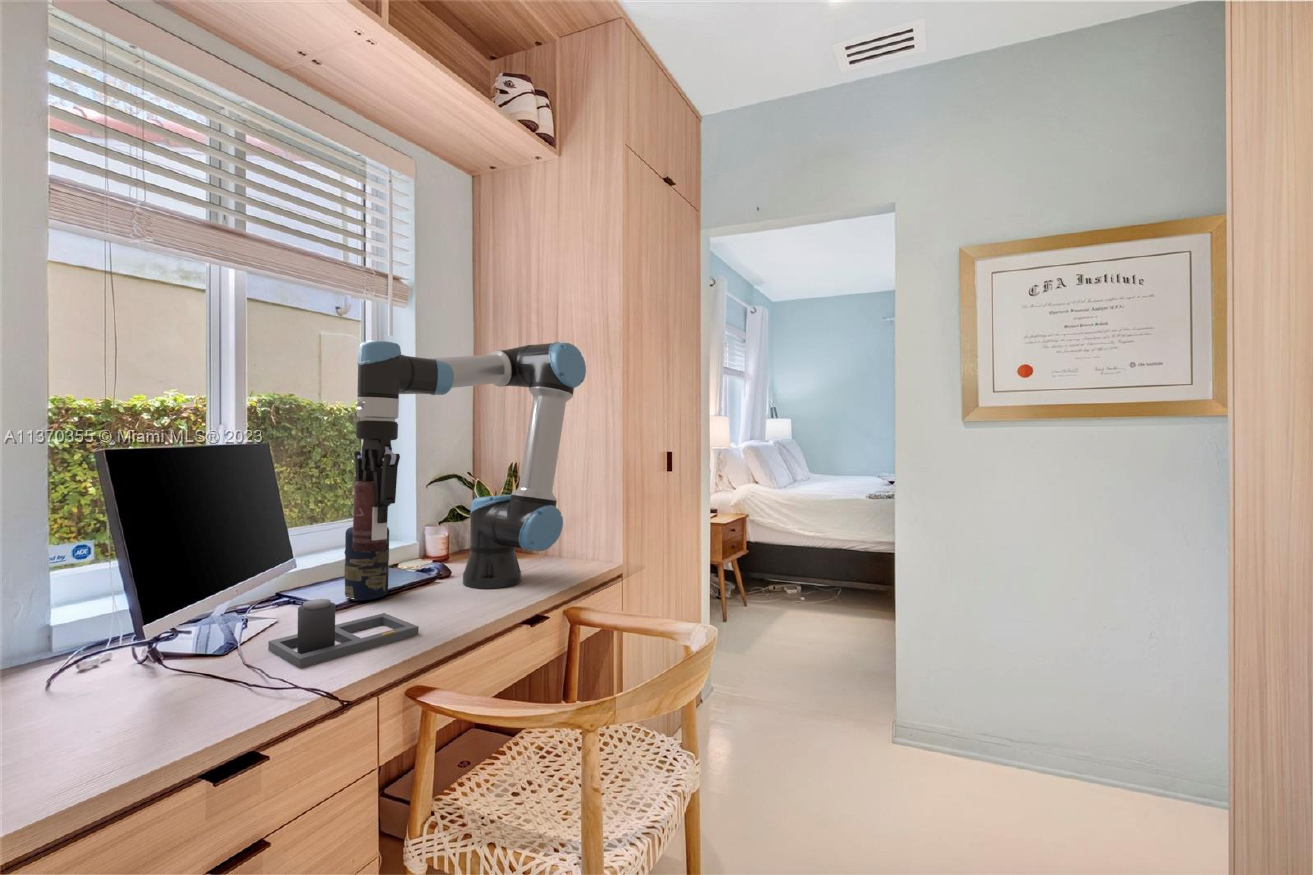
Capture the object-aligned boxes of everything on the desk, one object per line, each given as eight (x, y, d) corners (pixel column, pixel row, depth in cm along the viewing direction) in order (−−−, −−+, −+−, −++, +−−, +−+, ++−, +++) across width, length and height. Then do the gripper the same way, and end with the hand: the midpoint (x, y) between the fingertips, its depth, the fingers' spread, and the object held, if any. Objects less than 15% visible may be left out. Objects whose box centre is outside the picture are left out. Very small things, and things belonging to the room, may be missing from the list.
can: (374, 554, 116) (376, 481, 116) (345, 551, 117) (347, 480, 117) (393, 548, 122) (395, 479, 122) (365, 546, 123) (367, 478, 123)
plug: (325, 641, 115) (326, 595, 114) (340, 649, 111) (341, 601, 111) (291, 650, 110) (292, 602, 110) (306, 658, 106) (306, 609, 106)
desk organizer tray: (384, 620, 127) (384, 612, 127) (418, 634, 120) (418, 625, 120) (268, 649, 110) (268, 639, 110) (299, 668, 102) (299, 657, 102)
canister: (359, 605, 137) (360, 527, 137) (335, 598, 142) (336, 522, 142) (396, 596, 145) (398, 522, 145) (373, 589, 150) (374, 518, 150)
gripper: (338, 418, 121) (334, 534, 121) (380, 419, 111) (376, 546, 111) (375, 420, 127) (371, 530, 127) (418, 421, 117) (414, 541, 117)
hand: (373, 537), depth 119 cm, fingers open, 3 cm apart
